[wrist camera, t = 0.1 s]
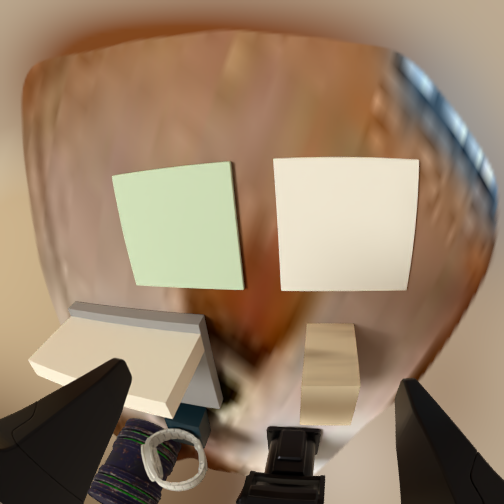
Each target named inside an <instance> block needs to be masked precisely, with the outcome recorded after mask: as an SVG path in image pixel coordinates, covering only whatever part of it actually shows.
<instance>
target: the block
mask: <svg viewBox="0 0 504 504" xmlns="http://www.w3.org/2000/svg"><path fill="white" fill-rule="evenodd" d="M360 386H361V385H360V374H359V364H358V355H357V346H356V338H355V330H354V324H310V323H307V328H306V341H305V353H304V364H303V375H302V385H301V409H300V425H350V424H351V421H352V417H353V414H354V410H355V406H356V402H357V398H358V394H359V390H360Z"/></svg>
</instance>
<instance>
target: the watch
mask: <svg viewBox="0 0 504 504" xmlns="http://www.w3.org/2000/svg"><path fill="white" fill-rule="evenodd" d="M165 421H166V424H167V426H168V429H165V430H161V431H160V432H156V433H154V434H153V435H152V436H150V437H149V438H147V440H146V442H145V444H142V446H141V454H142V459H143V464H144V467H145V470H146V473H147V475H148V477H149V479H150V480H151V481H152V482H153V481H156V482H157V483H158V484H159V485H160V486H161V487H163V488H165V489H168V490H172V491H174V490H175V491H182V490H183V491H184V490H188V489H190V488H193V487H195V486H197V485H198V484H199V483H200V482H201V481H202V480H203V479H204V477H205V474H206V471H207V460H206V456H205V453H204V449H203V448H205V446H206V443H207V440H208V437H209V434H210V432H211V428H210V423H209V419H208V413H207V408H205V407H200V406H196V405H191V404H186V403H180V405H179V407H178V409H177V411H176V413H175V415H174V418H173V419H170V418H166V417H165ZM170 438H171V439H173V441H176V442H180V443H184V444H188V445H192V446H194V447H195V449H196V450H197V451H198V455H199V468H198V470H199V472H198V473H199V474H196V475H195V476H194V477H193V478H194V479H193V478H191V479H189V480H187V482H186V481H183V482H179V483H177V482H171V483H170V482H167V481H163V480H162V479H163V469H162V465H161V461H160V458H159V455H158V452H157V448H156V447H157V446H158V444H161V443H162V442H164V441H167V440H170ZM190 483H191V484H190Z"/></svg>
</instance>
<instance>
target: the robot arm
mask: <svg viewBox="0 0 504 504" xmlns="http://www.w3.org/2000/svg"><path fill="white" fill-rule="evenodd" d="M131 383H132V375H131V372H130V370H129V368H128V366H127V364H126V362H125V361H124V360H123V359H119V358H112V359H110V360H109V361H107V362H105V363H103V364H102V365H100V366H98V367H97V368H95V369H93V370H91V371H90V372H88V373H86V374H84V375H83V376H81V377H79V378H77V379H76V380H74V381H72V382H70V383H69V384H67V385H65V386H63V387H62V388H60V389H58V390H56V391H54V392H53V393H51V394H49V395H47V396H46V397H44V398H42V399H40V400H39V401H36V402H35V403H33V404H31V405H29V406H28V407H25V408H24V409H22V410H20V411H17V412H15V413H13V414H11V415H9V416H6V417H4V418H2V419H0V504H84V501H85V498H86V496H87V493H88V491H89V488H90V486H91V483H92V481H93V478H94V476H95V474H96V471H97V469H98V466H99V464H100V462H101V459H102V457H103V455H104V452H105V450H106V448H107V445H108V443H109V441H110V438H111V436H112V434H113V432H114V429H115V427H116V425H117V423H118V420H119V418H120V415H121V413H122V410H123V407H124V404H125V401H126V398H127V395H128V392H129V389H130V386H131ZM395 418H396V420H395V421H396V451H397V460H398V470H399V480H400V491H401V492H400V493H401V504H504V480H503V479H502V478H501V477H500V476H499V475H498V474H497V473H496V472H495V471H494V470H493V469H492V467H490V465H489V464H488V463H487V462H486V460H485V459H484V458H483V457H482V456H481V454H480V453H479V452H477V450H476V449H475V447H474V446H473V445H472V444H471V442H470V441H469V440H468V439H467V438H466V436H465V435H464V434H463V433H462V432H461V431H460V429H459V428H458V427H457V426H456V425H455V423H454V422H453V421H452V420H451V419H450V417H449V416H448V415H447V414H446V413H445V412H444V410H442V408H441V407H440V406H439V405H438V404H437V402H436V401H435V400H434V399H433V398H432V397H431V396H430V394H429V393H428V392H427V391H426V390H425V389H424V388H423V387H422V385H421V384H420V383H419V382H418V381H417V380H416V379H415V378H406V379H402V380H401V382H400V385H399V388H398V391H397V394H396V397H395ZM320 435H321V431H320V430H318V429H293V428H276V427H268V428H267V440H268V449H269V453H268V458H267V463H266V468H265V473H260V472H255V471H250V474H249V475H248V476H246V480H245V484H244V487H243V489H242V491H241V493H240V495H239V497H238V498H237V501H236V504H324V489H325V487H324V486H325V476H323V475H321V476H313V469H314V458H315V455H316V454H317V452H318V446H319V441H320Z"/></svg>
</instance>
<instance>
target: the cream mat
mask: <svg viewBox="0 0 504 504" xmlns="http://www.w3.org/2000/svg"><path fill="white" fill-rule="evenodd" d="M273 163H274V176H275V191H276V206H277V222H278V238H279V256H280V276H281V291H391V290H407V284H408V278H409V272H410V265H411V258H412V250H413V242H414V233H415V224H416V212H417V199H418V179H419V160H417V159H401V158H376V157H297V158H274V159H273Z"/></svg>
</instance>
